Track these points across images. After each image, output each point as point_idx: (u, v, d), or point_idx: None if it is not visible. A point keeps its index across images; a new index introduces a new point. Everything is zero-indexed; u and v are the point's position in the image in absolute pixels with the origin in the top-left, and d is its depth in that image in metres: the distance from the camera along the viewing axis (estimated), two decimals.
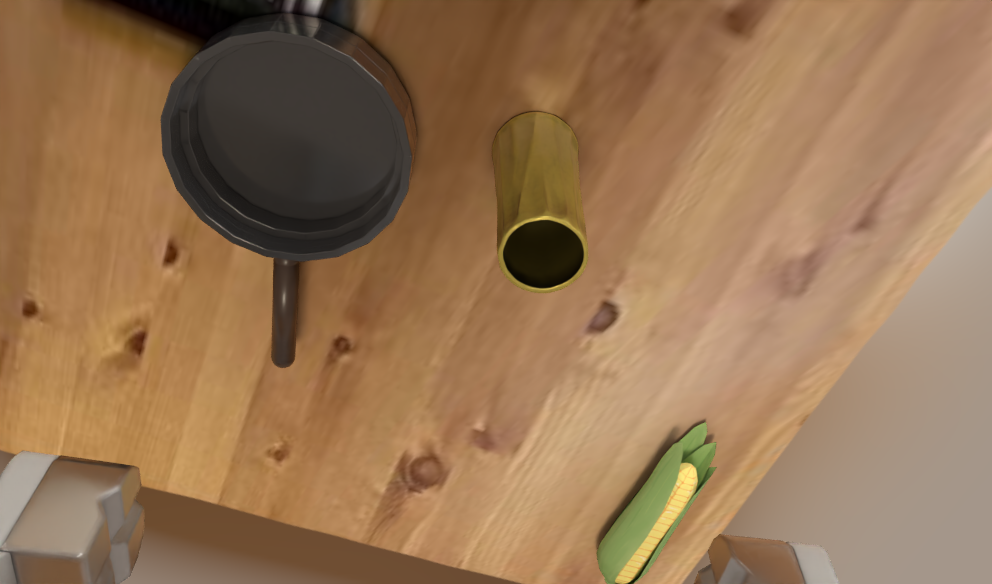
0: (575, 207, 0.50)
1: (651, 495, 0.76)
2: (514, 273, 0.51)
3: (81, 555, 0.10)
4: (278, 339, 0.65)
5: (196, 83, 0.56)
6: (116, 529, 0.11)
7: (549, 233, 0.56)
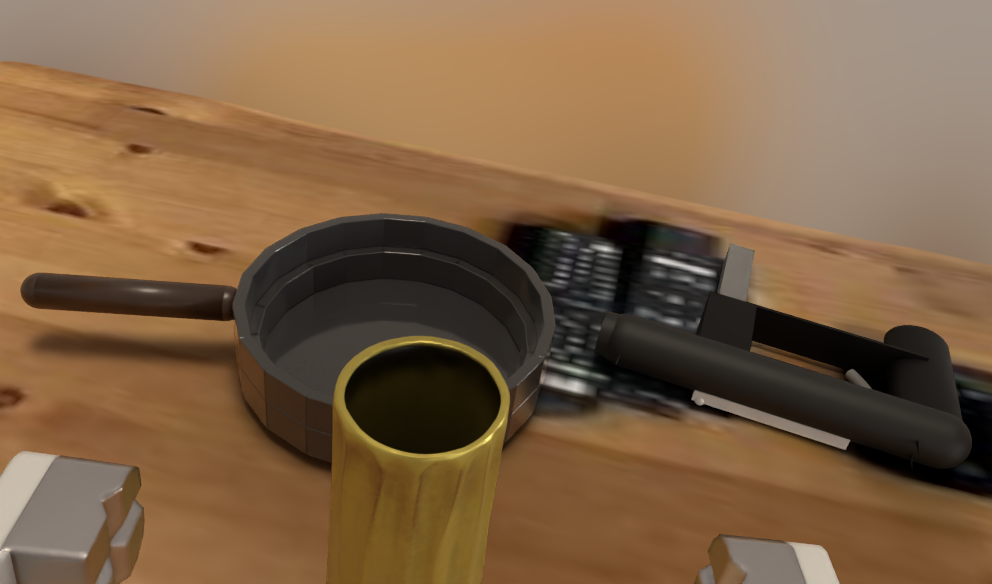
0: (481, 498, 0.26)
1: None
2: (362, 374, 0.27)
3: (81, 555, 0.10)
4: (88, 277, 0.43)
5: (456, 263, 0.51)
6: (116, 529, 0.11)
7: None
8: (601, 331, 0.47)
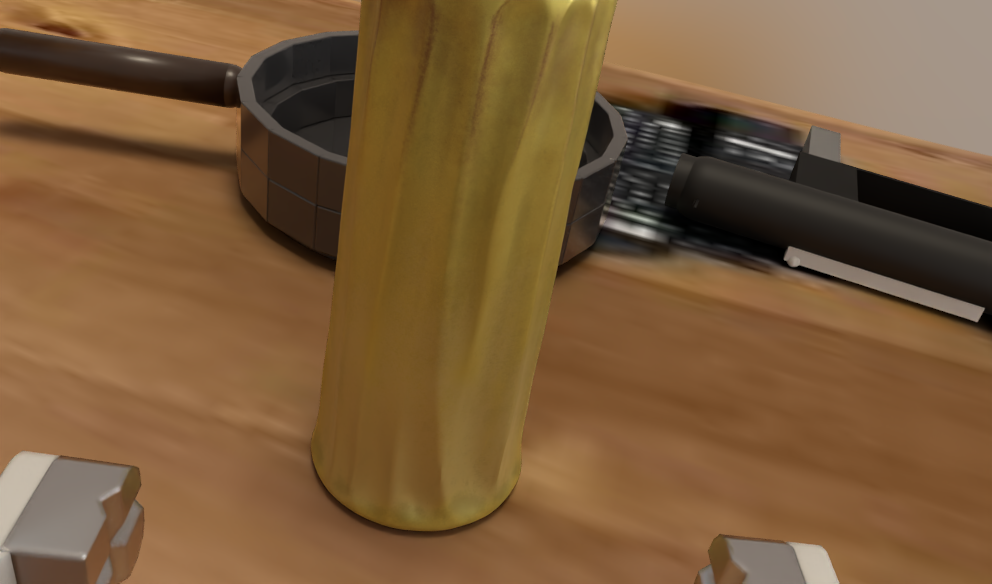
0: (571, 119, 0.18)
1: None
2: None
3: (81, 555, 0.10)
4: None
5: None
6: (116, 529, 0.11)
7: None
8: (676, 171, 0.39)
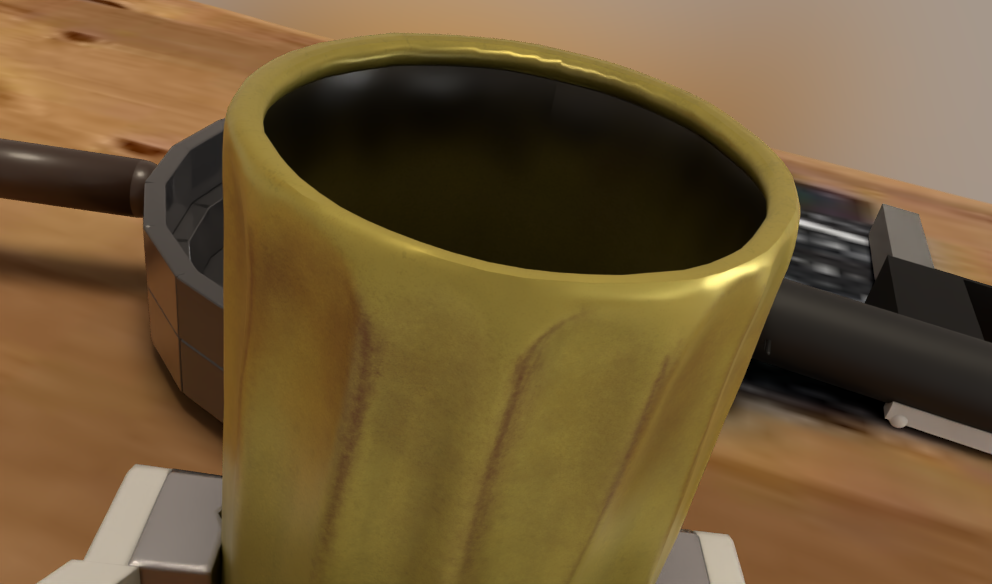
0: (681, 493, 0.08)
1: None
2: (336, 112, 0.09)
3: (207, 568, 0.10)
4: None
5: None
6: None
7: None
8: None
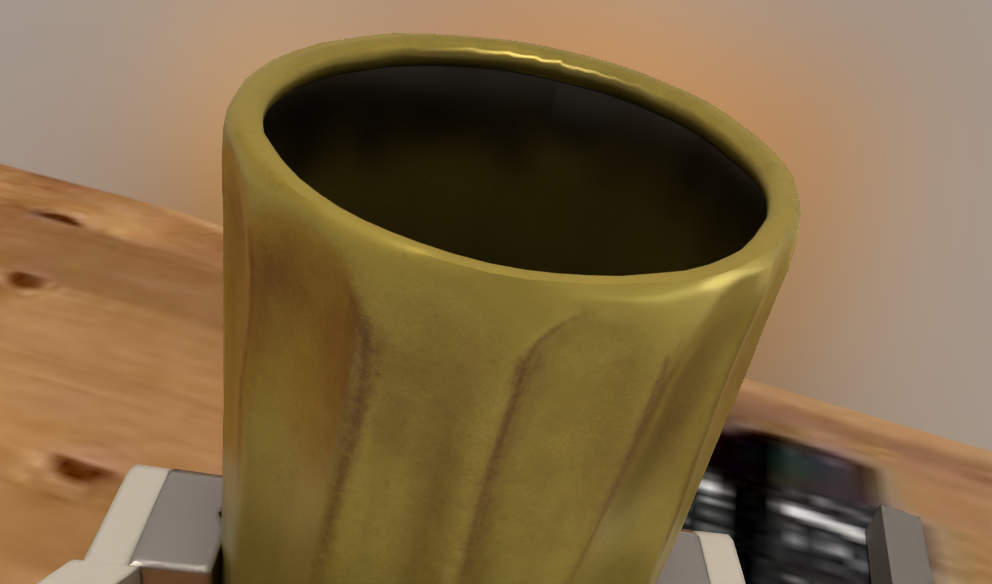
0: (681, 495, 0.08)
1: None
2: (336, 113, 0.09)
3: (208, 569, 0.10)
4: None
5: None
6: None
7: None
8: None
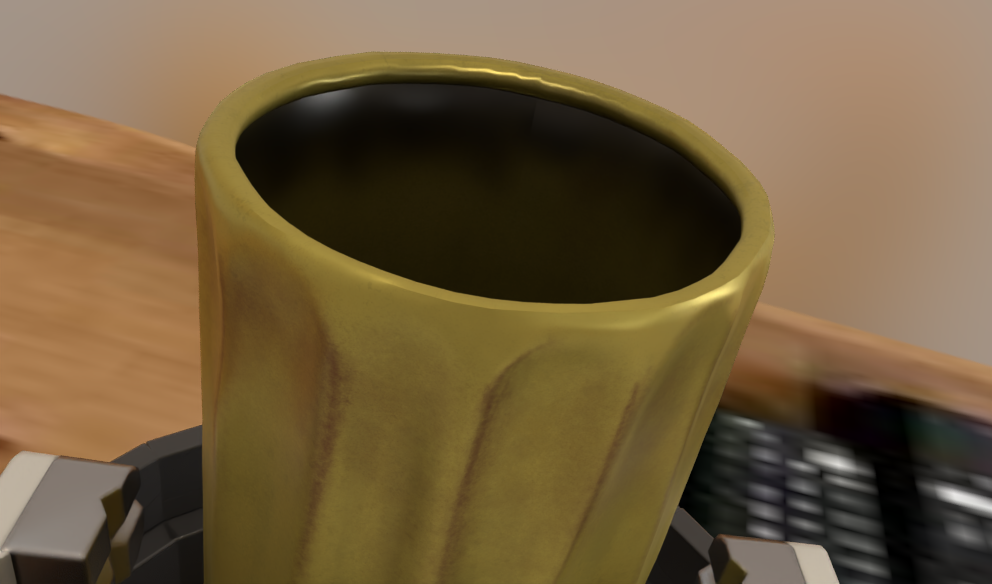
0: (658, 514, 0.08)
1: None
2: (314, 132, 0.09)
3: (81, 555, 0.10)
4: None
5: None
6: (116, 529, 0.11)
7: None
8: None
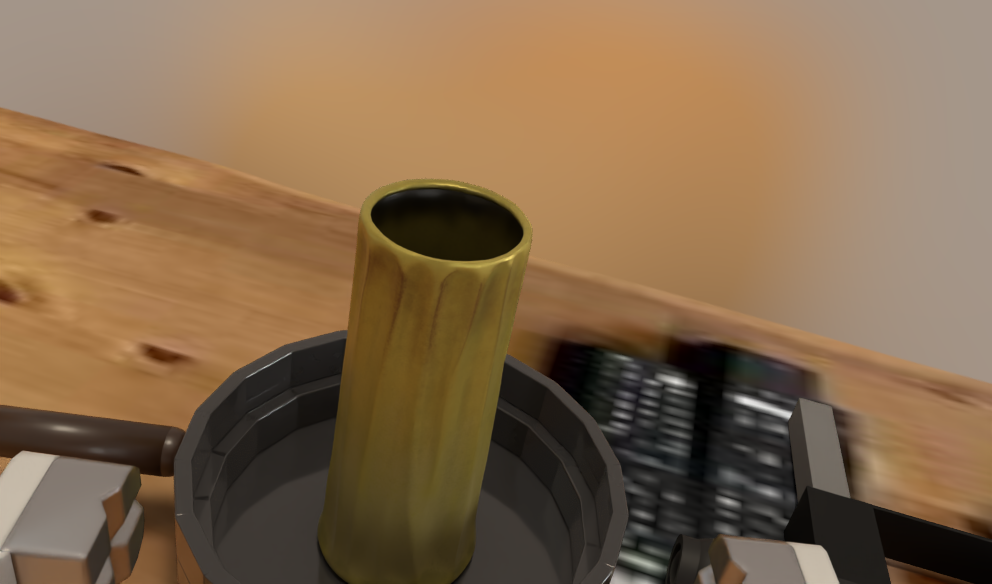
0: (498, 331, 0.26)
1: None
2: (388, 208, 0.27)
3: (81, 555, 0.10)
4: None
5: None
6: (116, 529, 0.11)
7: None
8: (680, 573, 0.32)
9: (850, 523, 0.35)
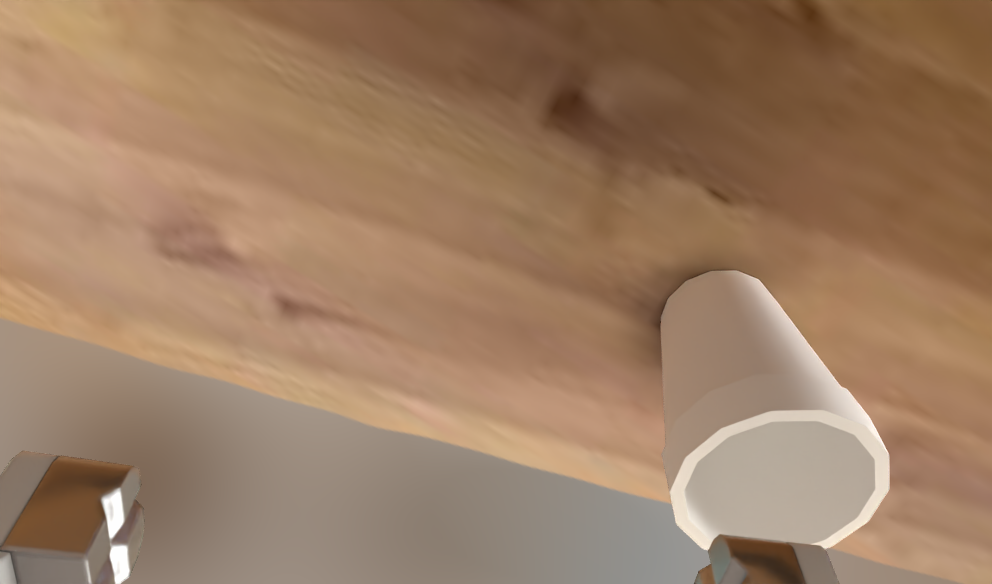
0: None
1: None
2: None
3: (81, 555, 0.10)
4: None
5: None
6: (116, 529, 0.11)
7: None
8: None
9: None
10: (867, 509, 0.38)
